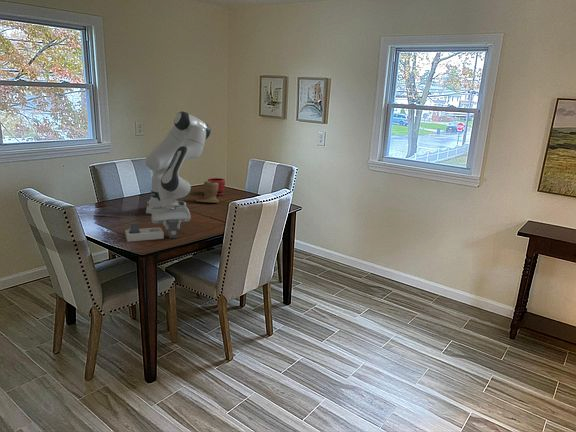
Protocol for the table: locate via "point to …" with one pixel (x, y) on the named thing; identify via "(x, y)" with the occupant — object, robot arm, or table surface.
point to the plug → (172, 228)
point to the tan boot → (209, 193)
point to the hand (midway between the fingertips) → (173, 228)
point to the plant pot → (221, 184)
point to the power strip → (143, 233)
